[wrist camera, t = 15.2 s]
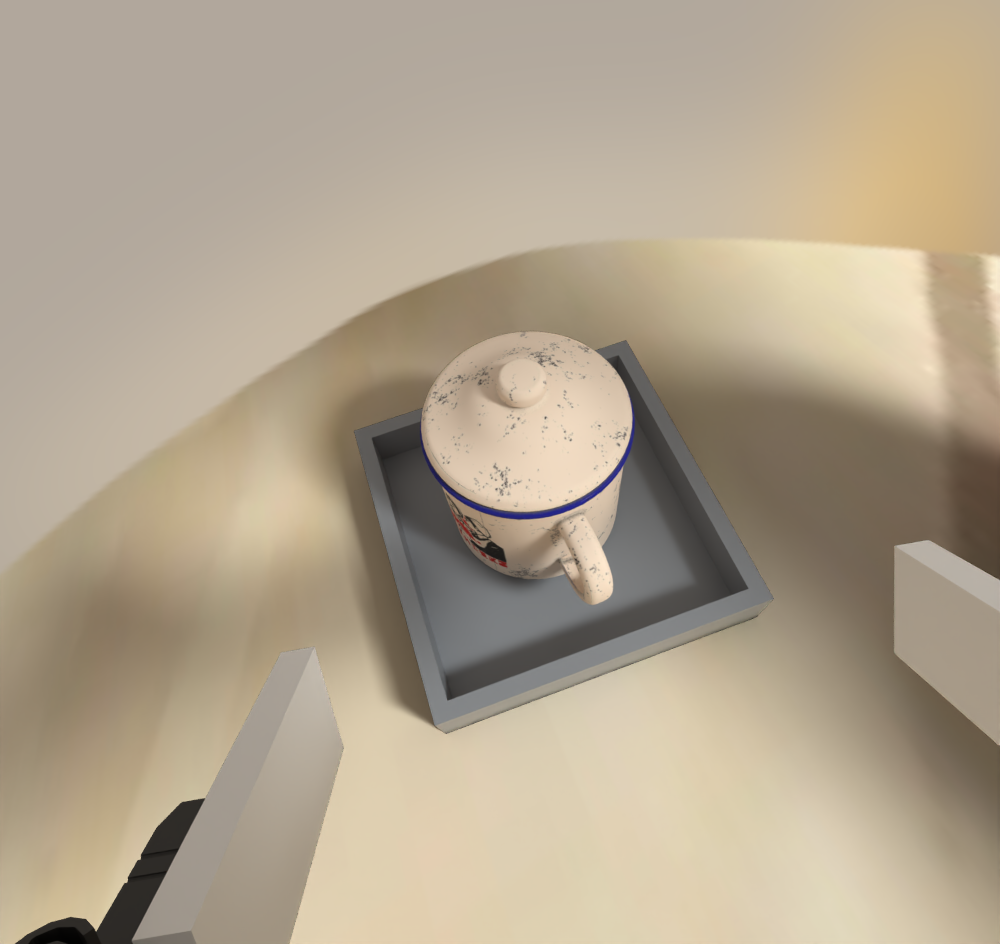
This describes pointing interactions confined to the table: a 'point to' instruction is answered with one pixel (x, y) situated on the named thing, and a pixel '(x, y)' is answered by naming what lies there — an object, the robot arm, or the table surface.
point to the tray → (552, 601)
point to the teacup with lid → (532, 455)
